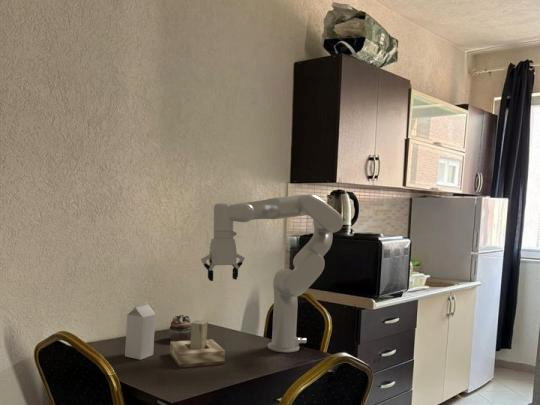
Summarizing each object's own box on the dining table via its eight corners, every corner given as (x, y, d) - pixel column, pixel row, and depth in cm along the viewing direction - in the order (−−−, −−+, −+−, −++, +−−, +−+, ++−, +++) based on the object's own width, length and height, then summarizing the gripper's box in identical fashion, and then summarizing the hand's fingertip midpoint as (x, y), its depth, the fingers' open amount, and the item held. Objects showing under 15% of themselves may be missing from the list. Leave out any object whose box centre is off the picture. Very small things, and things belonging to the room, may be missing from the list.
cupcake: (163, 340, 197) (164, 315, 197) (179, 336, 205) (181, 312, 205) (181, 345, 192) (182, 319, 192) (197, 340, 200) (198, 315, 200)
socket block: (211, 351, 185) (212, 339, 185) (224, 363, 171) (225, 350, 171) (169, 354, 179) (170, 341, 179) (179, 367, 164) (180, 354, 164)
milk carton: (153, 355, 176) (156, 302, 177) (140, 360, 170) (143, 305, 170) (137, 352, 179) (140, 300, 180) (124, 356, 173) (127, 303, 173)
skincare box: (200, 359, 171) (202, 324, 172) (189, 357, 172) (191, 323, 172) (206, 354, 178) (208, 320, 178) (195, 352, 179) (196, 319, 179)
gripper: (240, 234, 194) (240, 277, 194) (198, 235, 186) (198, 279, 186) (247, 235, 187) (247, 280, 187) (204, 236, 180) (204, 282, 179)
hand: (223, 279), depth 187 cm, fingers open, 9 cm apart
